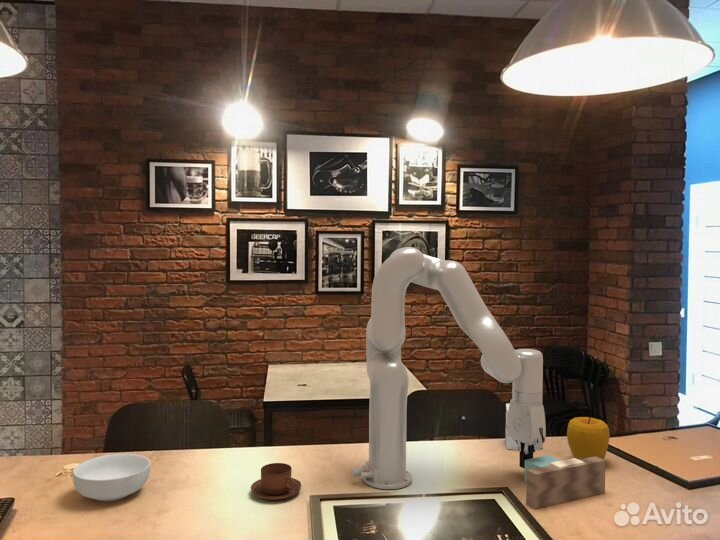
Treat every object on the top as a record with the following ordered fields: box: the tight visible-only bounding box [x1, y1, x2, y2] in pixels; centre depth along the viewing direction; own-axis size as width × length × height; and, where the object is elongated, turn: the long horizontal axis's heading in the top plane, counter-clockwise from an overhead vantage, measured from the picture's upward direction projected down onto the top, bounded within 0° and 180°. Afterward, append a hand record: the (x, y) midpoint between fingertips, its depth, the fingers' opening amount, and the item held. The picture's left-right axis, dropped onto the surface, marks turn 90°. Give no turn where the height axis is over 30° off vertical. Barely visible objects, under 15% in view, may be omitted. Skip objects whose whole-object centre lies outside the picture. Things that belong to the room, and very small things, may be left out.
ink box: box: [505, 403, 519, 451], centre depth 172 cm, size 9×5×15 cm, turn 168°
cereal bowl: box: [72, 453, 152, 502], centre depth 134 cm, size 17×17×7 cm
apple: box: [566, 416, 611, 460], centre depth 158 cm, size 11×11×13 cm
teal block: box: [523, 454, 561, 484], centre depth 141 cm, size 8×10×6 cm
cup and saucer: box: [250, 462, 302, 501], centre depth 136 cm, size 12×12×6 cm
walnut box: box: [525, 456, 606, 510], centre depth 134 cm, size 22×3×9 cm, turn 115°
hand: (526, 466), depth 147 cm, fingers closed
